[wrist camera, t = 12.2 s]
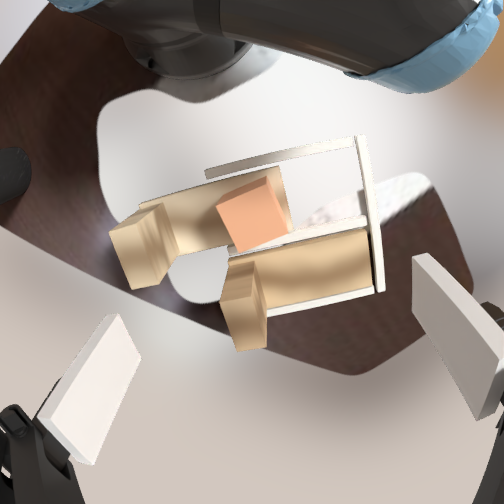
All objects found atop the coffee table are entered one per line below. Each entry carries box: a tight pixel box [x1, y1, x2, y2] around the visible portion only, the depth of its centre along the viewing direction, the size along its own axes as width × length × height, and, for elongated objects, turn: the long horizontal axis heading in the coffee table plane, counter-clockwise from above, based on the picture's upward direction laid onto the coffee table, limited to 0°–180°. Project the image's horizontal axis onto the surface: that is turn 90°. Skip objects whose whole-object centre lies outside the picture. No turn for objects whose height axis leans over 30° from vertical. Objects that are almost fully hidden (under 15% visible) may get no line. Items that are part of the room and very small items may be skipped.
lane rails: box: [205, 135, 385, 317], centre depth 35 cm, size 19×18×1 cm
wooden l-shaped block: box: [219, 228, 372, 352], centre depth 33 cm, size 7×16×9 cm, turn 104°
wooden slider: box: [109, 166, 294, 290], centre depth 31 cm, size 7×16×9 cm, turn 104°
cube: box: [216, 176, 288, 253], centre depth 31 cm, size 5×5×5 cm
